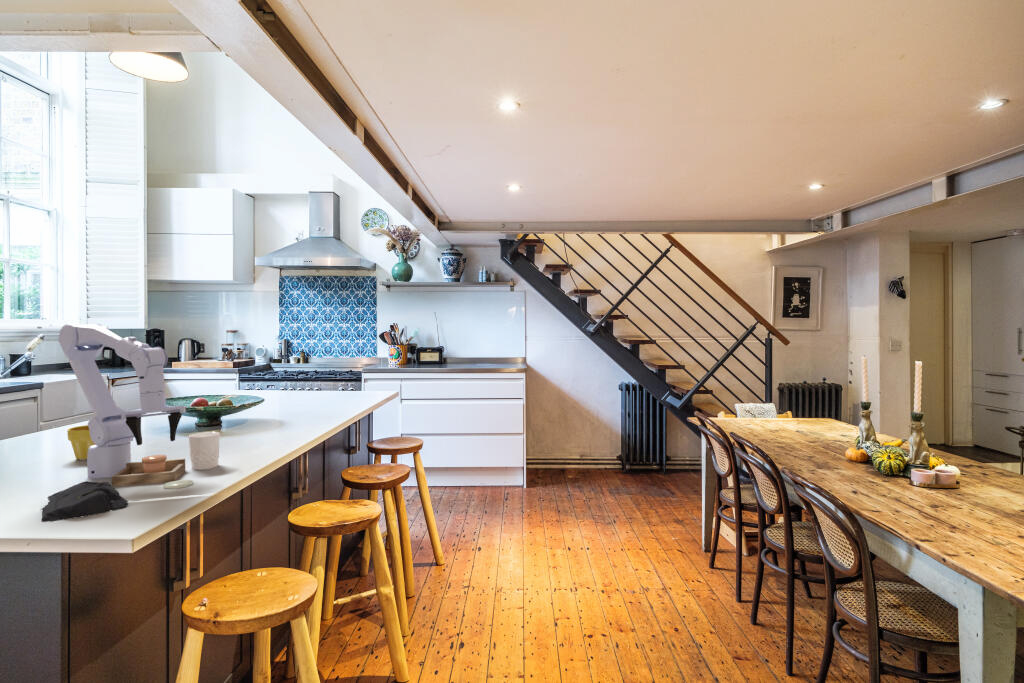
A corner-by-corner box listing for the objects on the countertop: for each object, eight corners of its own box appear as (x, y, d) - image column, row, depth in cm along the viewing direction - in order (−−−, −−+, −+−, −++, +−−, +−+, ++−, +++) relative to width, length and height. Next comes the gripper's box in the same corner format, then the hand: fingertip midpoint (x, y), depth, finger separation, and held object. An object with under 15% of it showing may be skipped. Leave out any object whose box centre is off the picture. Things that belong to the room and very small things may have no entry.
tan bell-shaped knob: (139, 481, 145) (138, 460, 145) (146, 475, 150) (145, 455, 150) (163, 479, 146) (163, 458, 146) (169, 474, 152) (169, 454, 152)
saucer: (156, 493, 136) (156, 489, 136) (165, 484, 144) (165, 480, 144) (191, 490, 139) (191, 486, 139) (198, 481, 146) (198, 478, 146)
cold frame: (112, 488, 141) (111, 472, 141) (127, 477, 151) (127, 462, 151) (174, 483, 145) (174, 468, 145) (185, 472, 155) (185, 458, 155)
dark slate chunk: (119, 489, 142) (119, 470, 142) (129, 510, 125) (128, 489, 125) (41, 501, 132) (41, 482, 132) (40, 526, 115) (39, 504, 115)
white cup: (226, 465, 163) (225, 431, 163) (209, 472, 156) (208, 437, 155) (201, 464, 164) (200, 431, 164) (183, 471, 156) (182, 436, 156)
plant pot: (92, 461, 169) (92, 430, 169) (59, 462, 169) (58, 430, 169) (117, 454, 179) (116, 424, 179) (86, 454, 179) (85, 424, 179)
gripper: (115, 396, 142) (119, 448, 142) (180, 390, 147) (184, 441, 147) (123, 394, 148) (127, 444, 149) (185, 388, 154) (189, 437, 154)
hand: (156, 442), depth 148 cm, fingers open, 7 cm apart
